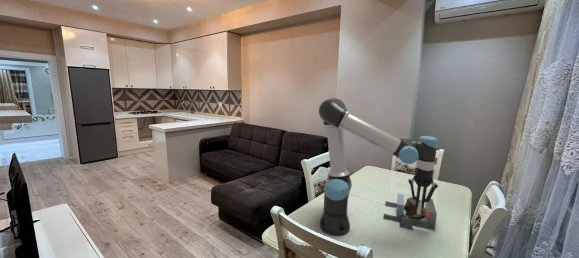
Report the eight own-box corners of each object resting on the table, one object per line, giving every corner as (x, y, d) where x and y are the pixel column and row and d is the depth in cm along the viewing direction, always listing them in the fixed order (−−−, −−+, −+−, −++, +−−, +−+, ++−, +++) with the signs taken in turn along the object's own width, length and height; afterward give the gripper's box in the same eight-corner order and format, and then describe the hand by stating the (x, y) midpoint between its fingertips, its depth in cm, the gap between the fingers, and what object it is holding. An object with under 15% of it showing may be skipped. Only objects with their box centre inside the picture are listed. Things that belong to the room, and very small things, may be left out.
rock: (432, 215, 122) (421, 207, 119) (418, 228, 125) (406, 220, 122) (418, 199, 134) (407, 191, 131) (405, 211, 136) (394, 204, 133)
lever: (406, 222, 119) (431, 217, 114) (403, 217, 119) (428, 211, 114) (406, 219, 122) (430, 214, 117) (403, 214, 122) (428, 208, 117)
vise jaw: (402, 221, 125) (404, 205, 124) (396, 219, 126) (397, 204, 125) (402, 209, 138) (404, 194, 136) (396, 207, 139) (397, 193, 137)
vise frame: (435, 235, 113) (437, 218, 112) (382, 222, 124) (384, 207, 122) (430, 213, 133) (432, 199, 132) (385, 204, 143) (386, 190, 142)
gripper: (439, 168, 114) (432, 212, 118) (409, 163, 119) (404, 206, 124) (441, 173, 107) (434, 220, 111) (410, 168, 113) (404, 213, 117)
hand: (418, 213), depth 117 cm, fingers closed
